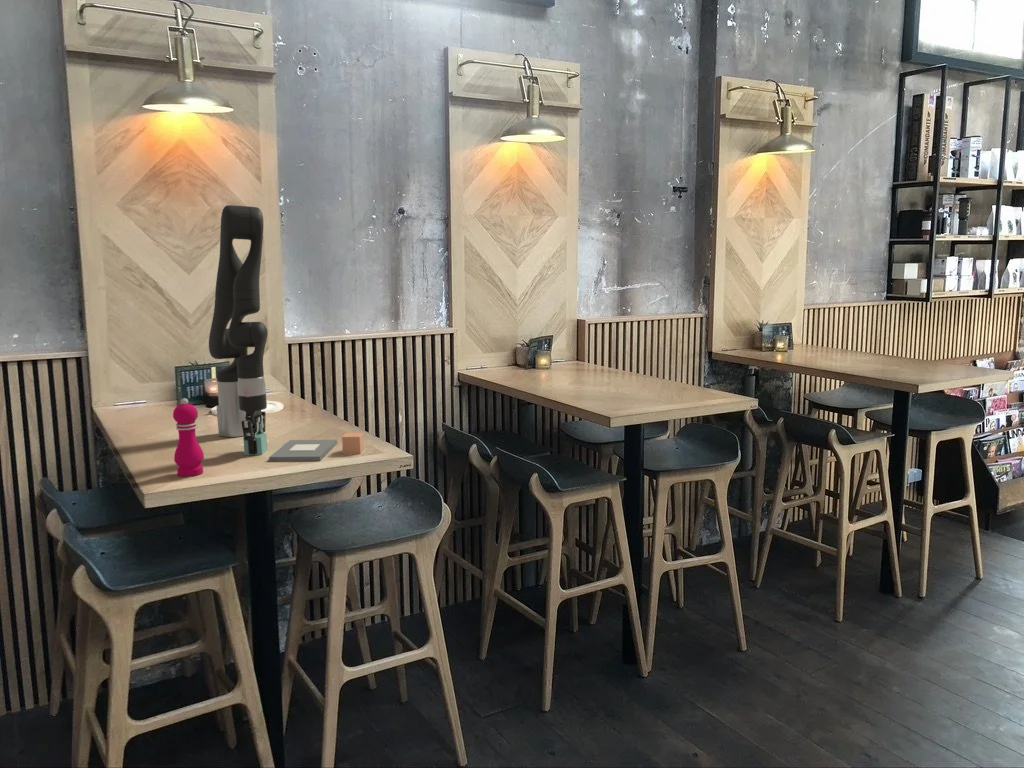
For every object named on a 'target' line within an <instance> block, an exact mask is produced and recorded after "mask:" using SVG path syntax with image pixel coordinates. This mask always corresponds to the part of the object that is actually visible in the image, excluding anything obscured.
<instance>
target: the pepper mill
mask: <svg viewBox="0 0 1024 768" xmlns="http://www.w3.org/2000/svg"><path fill="white" fill-rule="evenodd" d="M180 403H181V404H179V405H178V406H176V407H175V408H174V409H173V413H172V416H173V419H174V421H175V422H176V424H175V427H176V428H175V429H176V430H177V432H178V443H177V447H176V449H175V452H174V464H176V465H177V466H178V467H177V469H176V470H177V471H176V472H177V476H178V477H180V476H182V477H181V478H189V477H188V476H192V477H198V476H200V475H202V474H203V473H204V467H203V465H202V462H203V461H204V459H205V456H204V455H205V453H204V451H203V449H202V447H201V445H200V443H199V442H198V439H197V436H196V434H197V433H196V429H197V428H198V426H197V422H196V420H197V418H198V417H199V412H198V409H197V407H196V406H194V404H189V399H188V398H184V397H183V398H182V399H181V400H180Z"/></svg>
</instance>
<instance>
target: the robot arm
mask: <svg viewBox="0 0 1024 768" xmlns="http://www.w3.org/2000/svg"><path fill="white" fill-rule="evenodd" d="M219 237H220V238H219V239H220V241H219V256H218V257H219V259H218V266H217V272H216V279H215V282H216V283H215V296H214V308H213V314H212V315H213V316H212V321H211V326H210V331H209V336H208V337H209V338H208V351H209V354H210V356H211V357H212V358H213V359H215V360H224V359H225V360H226V359H233V361H232V363H230V364H229V365H228V366H226V367H224V368H223V369H222V368H221V369H219V370H218V371H217V373H216V383H217V384H216V385H217V395H218V396H217V397H218V398H217V399H218V405H216V406H217V415H216V417H217V430H218V437H226V438H235V437H243V438H244V440H247V441H248V450H249V454H256V453H257V443H256V436H257V434H265V432H266V413H265V412H261V410H263V409H265V408H266V407H267V401H268V400H267V388H266V380H265V375H264V374H265V373H264V372H265V370H264V353H265V348H266V344H267V340H268V334H269V333H268V328H267V326H266V324H265V323H263V322H262V321H243V320H244V318H245V317H246V316H249V315H255V314H257V313H259V311H260V309H261V299H260V298H261V296H260V275H261V273H260V272H261V264H262V256H263V254H262V253H263V241H264V240H263V239H264V215H263V212H262V209H260V207H257V206H247V205H246V206H245V205H235V204H234V205H233V204H229V205H225V206H224V207H223V209H222V212H221V217H220V235H219ZM234 240H247V241H248V240H249V241H250V245H249V251H248V254H247V256H246V258H245V260H244V261H243V262H242V260H241V259H240V257H239V256H238V254H237V251H236V249H235V247H234V245H233V241H234ZM228 324H229V326H228ZM248 348H254V350H253V352H252V353H250V354H248ZM250 435H251V436H250ZM244 440H243V441H244Z"/></svg>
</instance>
